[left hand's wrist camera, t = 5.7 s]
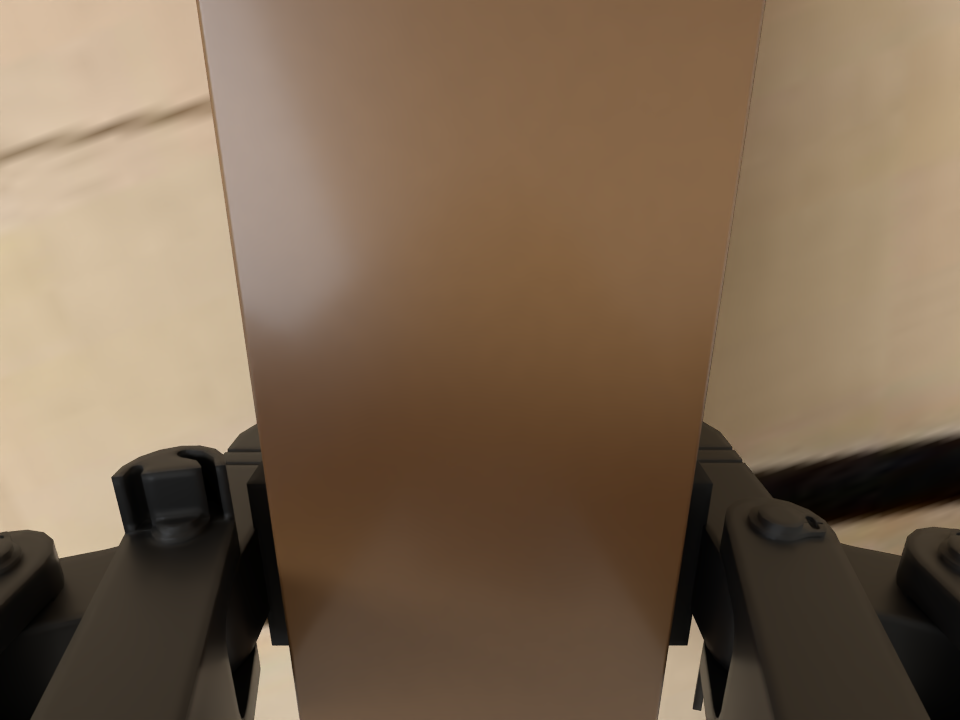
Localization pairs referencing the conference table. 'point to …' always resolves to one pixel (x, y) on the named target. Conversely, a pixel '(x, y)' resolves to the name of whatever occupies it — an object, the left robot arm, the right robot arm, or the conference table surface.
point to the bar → (479, 332)
